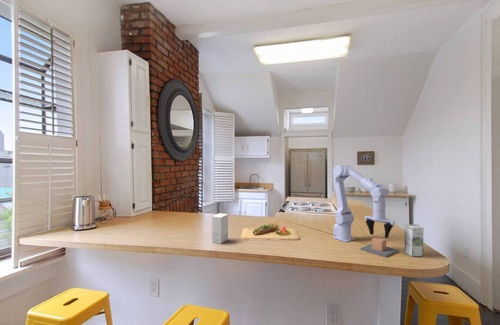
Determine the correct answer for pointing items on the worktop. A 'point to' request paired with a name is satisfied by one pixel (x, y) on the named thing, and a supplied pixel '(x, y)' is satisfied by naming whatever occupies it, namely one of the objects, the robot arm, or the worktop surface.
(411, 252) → the syrup box
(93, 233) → the worktop surface
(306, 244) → the worktop surface
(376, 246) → the cube
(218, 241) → the skincare box
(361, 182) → the robot arm
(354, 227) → the worktop surface
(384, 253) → the mat
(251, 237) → the cutting board
